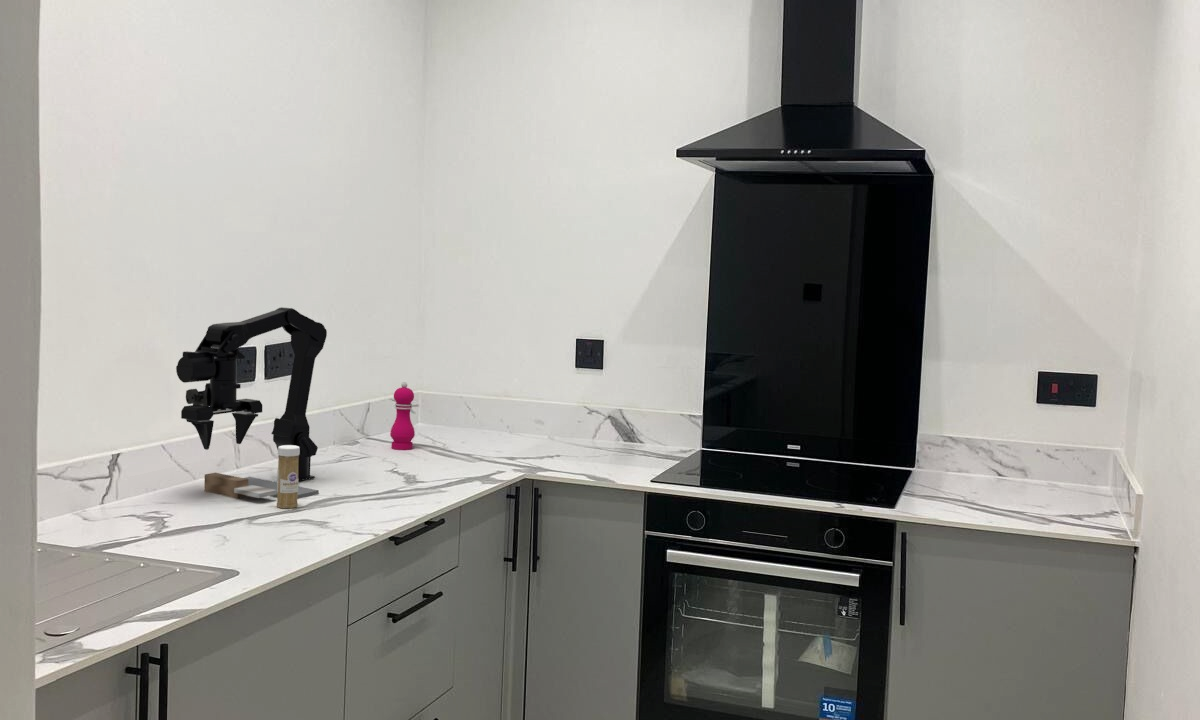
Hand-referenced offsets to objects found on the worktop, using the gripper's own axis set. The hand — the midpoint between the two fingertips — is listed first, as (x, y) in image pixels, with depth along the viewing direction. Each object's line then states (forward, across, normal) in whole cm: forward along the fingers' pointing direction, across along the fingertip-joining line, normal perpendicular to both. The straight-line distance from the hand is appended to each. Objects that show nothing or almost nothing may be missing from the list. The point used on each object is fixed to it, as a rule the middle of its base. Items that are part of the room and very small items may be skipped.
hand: (222, 446), depth 227 cm
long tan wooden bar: (+11, 0, +5) cm, 12 cm away
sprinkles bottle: (+11, 0, +21) cm, 24 cm away
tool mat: (+11, -9, +6) cm, 15 cm away
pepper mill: (+12, -74, -8) cm, 75 cm away
